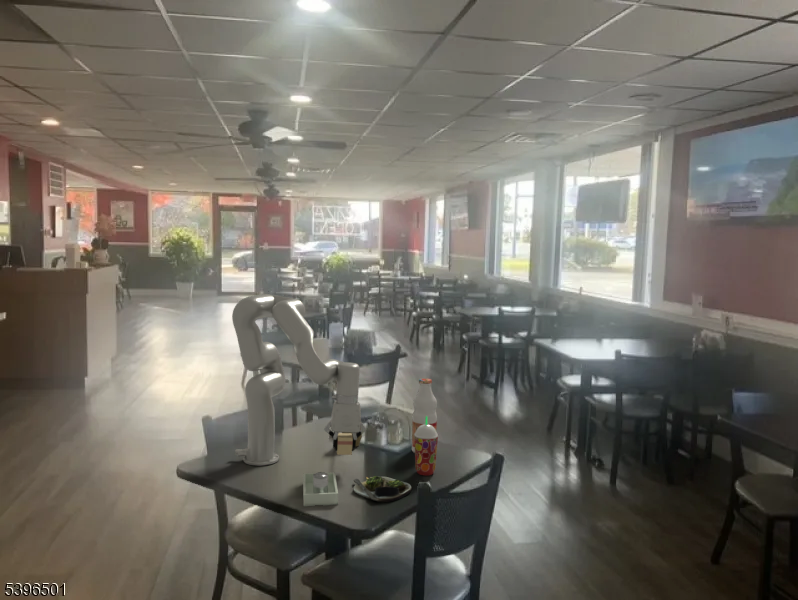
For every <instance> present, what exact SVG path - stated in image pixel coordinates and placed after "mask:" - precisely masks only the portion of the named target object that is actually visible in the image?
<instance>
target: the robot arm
mask: <svg viewBox="0 0 798 600" xmlns="http://www.w3.org/2000/svg"><path fill="white" fill-rule="evenodd" d="M305 315H306V306H305V305H304V303H303V302H302V301H301V300H299V299H298V298H292V297H287V296H282V295H276V294H269V293H266V294H265V293H263V294H257V295H256V294H255V295H249V296H247V297H244V298H242V299H241V300H240V301H238V302H237V303H236V305H235V306H234V308H233V310H232V315H231V316H232V317H231V320H232V325H233V328H234V332H235V334H236V338H237V343H238V346H239V347H238V348H239V351H240V353H239V354H240V357H241V361H242V364H243V366H244V368H245V369H246V370H247V371H248V372H258V371H259V372H260V373H258V374H256V375H253V376H252V377H251V378H250V379H249V380H248V381H247V382H246V384H245V387H244V389H245V390H244V393H245V398H246V404H247V406H246V407H247V447H246V448H244V449H241V448H240V449H239V448H238V449H237V448H236V449H235V451H234V452H235V456H238V457H243V462H244V463H245V464H247V465H250V466H254V467H255V466H260V467H261V466H269V465H272V464H275V463H277V462H278V461H279V460H280V455H279V454H278V453H276V452H275V451H276V450H275V449H276V448H275V447H276V446H275V445H276V441H275V440H276V439H275V437H276V436H275V435H276V431H275V430H276V427H275V425H276V424H275V422H276V421H275V420H276V419H275V418H276V416H275V415H276V414H275V413H276V411H275V406H274V403H273V398H274V397H275V396H278V395H280V394H281V393H282V392H283V391H284V390H285V387H286V383H287V382H286V381H287V380H286V377H285V372H284V367H283V363H282V362H283V361H282V358H281V353H280V352H279V349H278V348H277V346H275V344H274V343H272V342H269V341H263V335H262V333H261V329H260V327H259V326H258V324H257V322H256V320H259V319H264V318H273V319H274V321H275V322H276V323H277V325H278V327H280V329H281V331H282V332H283V333H284V334H285V336H286V337H287V338H288V340H289V341H290V342H291V344H292V345H293V347H294V352H295V356H296V358H297V362H298V364H299V366H300V367H301V369H302V370H303V372H304V373H305V374H306V375H307V377H308V378H309V379H310V380H311V382H313V383H314V384H316V385H319V386H324V385H327V384H329V383H331V382H334V381H336V393H334V394H332V395H331V400H334V402H333V404H332V409H331V419H330V421H329V422H328V423H327V424H326V425H325V426H324V427H323V431H324V432H326V433H327V434H328V435H329V436H330V437H331V438H332V439H333V440H332V441H333V442H332V448H333V449H334V451H335V452H337V445H338V439H337V436H338V433H342V432H343V433H352V434H353V436H352V437H353V443H352V452H354V450H355V449H356V440H357V438H358V437H359V436H360V435H361V434H362V435H363V434H364V433H365V432H367V427H366V426H365V425H364V424H363V422H362V420H361V419H362V412H361V411H362V409H361V403H360V402H359V389H360V388H359V387H360V372H361V370H360V369H361V368H360V366H359V364H358V363H355V362H346V361H345V362H344V361H343V360H342V361H341V360H338V359H335V358H328V359H325V360H322V359H321V358H320V357H319V355H318V354H317V352H316V350H315V348H314V343H313V341H314V338H315V337H314V336H315V331H314V329H313V328H312V327H311V326H310V324H309V323H308V321H307V319H305ZM360 428H361V430H360ZM356 432H357V433H356Z"/></svg>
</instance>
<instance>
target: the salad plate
mask: <svg viewBox="0 0 798 600" xmlns="http://www.w3.org/2000/svg"><path fill="white" fill-rule="evenodd" d="M365 479H366V480H365V481H361V480H360V479H359V478H354V479H353V482H354V484H355V485H354V486H353V492H354V493H356V494H357V495H359V496H360V497H363V498H366V499H369V500H370V501H374V502H376V503H377V502H378V503H389V502H394V501H397V500H400V499H402V498H405V497H406V496H408V495H409V494H410V493H411V492H412V489H413V488H412V485H411V484H410V483H408V482H404V481H401V480H399V479H394V478H391V477H387V476H378V475H374V476H370V477H368V476H366V477H365Z"/></svg>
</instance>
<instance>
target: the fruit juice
mask: <svg viewBox="0 0 798 600" xmlns="http://www.w3.org/2000/svg"><path fill="white" fill-rule="evenodd" d="M432 380H433V379H431V378H419V379H418V384H419V388H418V391H417V393H416V395H415V396H414V398H413V399H412V400H413V401H412V405H413V412H412V417H411V421H412V424H411V426H412V428H411V451H412V452H413V454H415V441H414V433H415V432H416V430H417V429H418V427H419V426H421V425H423V424H426V416H427V424H429V425H431V426H433V427H434V428H435V430H436V432H437V429H438V428H437V425H438V416H437V412H436V409H437V407H438V406H437V405H438V401H437V398H436V397H435V395H434V393H433V390H432V383H433V381H432Z"/></svg>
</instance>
